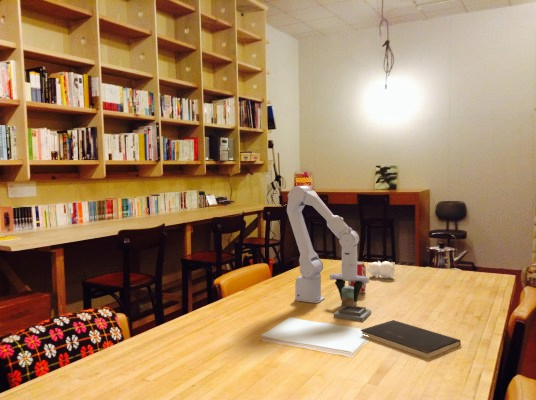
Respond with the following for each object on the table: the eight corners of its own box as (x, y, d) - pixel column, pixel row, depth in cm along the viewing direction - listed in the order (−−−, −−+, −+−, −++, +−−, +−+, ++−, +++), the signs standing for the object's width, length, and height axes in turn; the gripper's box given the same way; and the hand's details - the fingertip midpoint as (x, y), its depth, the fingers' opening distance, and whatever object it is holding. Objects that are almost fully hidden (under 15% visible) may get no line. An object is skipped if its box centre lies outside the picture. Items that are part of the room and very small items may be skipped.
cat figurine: (368, 256, 222) (393, 258, 216) (374, 265, 230) (399, 267, 224) (365, 274, 219) (390, 276, 212) (371, 282, 227) (396, 284, 220)
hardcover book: (427, 360, 125) (427, 352, 125) (360, 337, 143) (360, 329, 143) (460, 347, 135) (460, 339, 135) (394, 326, 153) (394, 319, 153)
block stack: (341, 305, 175) (341, 288, 175) (345, 302, 179) (345, 285, 179) (353, 306, 173) (353, 289, 173) (356, 303, 177) (356, 287, 177)
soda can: (361, 294, 190) (361, 265, 190) (345, 292, 195) (345, 263, 194) (368, 291, 196) (368, 262, 195) (353, 288, 200) (353, 260, 200)
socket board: (333, 317, 161) (333, 310, 161) (343, 309, 170) (343, 303, 170) (362, 321, 156) (362, 314, 156) (370, 313, 165) (370, 307, 165)
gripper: (327, 264, 175) (326, 300, 176) (365, 267, 168) (365, 305, 169) (333, 261, 181) (333, 296, 182) (371, 264, 175) (370, 300, 175)
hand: (349, 300), depth 176 cm, fingers closed on block stack, 4 cm apart
